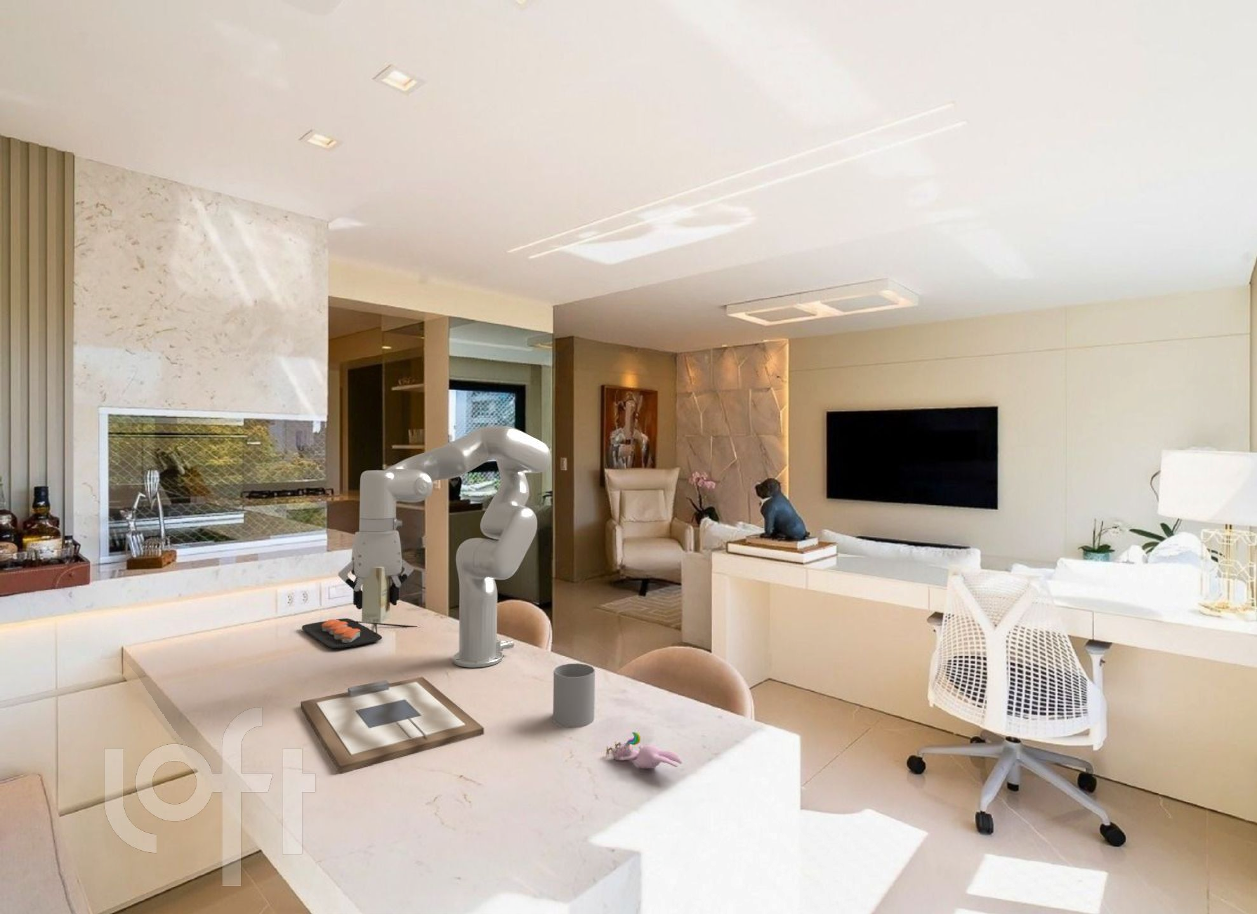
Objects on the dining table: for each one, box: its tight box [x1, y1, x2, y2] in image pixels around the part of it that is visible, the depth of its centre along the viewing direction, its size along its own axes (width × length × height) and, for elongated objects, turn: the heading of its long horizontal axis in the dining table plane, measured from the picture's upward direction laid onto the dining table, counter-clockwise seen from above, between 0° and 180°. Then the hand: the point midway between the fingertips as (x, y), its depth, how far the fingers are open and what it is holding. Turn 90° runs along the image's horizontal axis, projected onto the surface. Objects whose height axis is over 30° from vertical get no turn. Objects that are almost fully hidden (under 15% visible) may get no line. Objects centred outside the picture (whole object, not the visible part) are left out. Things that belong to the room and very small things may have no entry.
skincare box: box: [361, 567, 391, 624], centre depth 144 cm, size 6×4×12 cm
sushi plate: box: [301, 617, 417, 649], centre depth 193 cm, size 29×30×4 cm
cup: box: [552, 663, 596, 728], centre depth 133 cm, size 8×8×10 cm
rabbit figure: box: [605, 731, 683, 770], centre depth 113 cm, size 6×6×15 cm
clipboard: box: [300, 676, 485, 774], centre depth 131 cm, size 26×34×3 cm
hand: (376, 605), depth 144 cm, fingers closed on skincare box, 6 cm apart
